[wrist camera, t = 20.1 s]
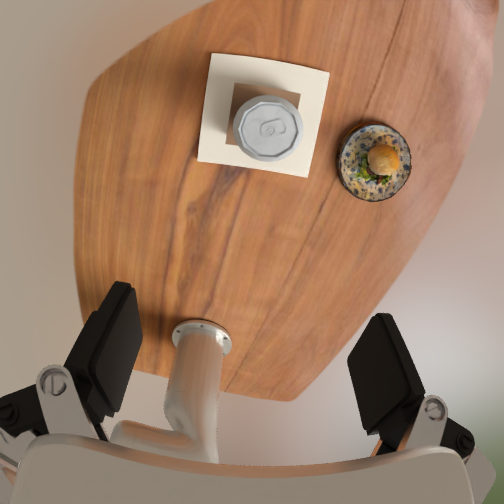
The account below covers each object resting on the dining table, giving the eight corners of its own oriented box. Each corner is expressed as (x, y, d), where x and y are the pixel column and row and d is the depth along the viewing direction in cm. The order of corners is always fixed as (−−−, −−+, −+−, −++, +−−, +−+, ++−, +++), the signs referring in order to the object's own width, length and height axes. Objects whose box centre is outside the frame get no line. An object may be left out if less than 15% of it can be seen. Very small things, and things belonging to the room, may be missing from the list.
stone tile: (306, 175, 37) (307, 177, 36) (198, 159, 36) (197, 161, 35) (327, 73, 29) (329, 73, 28) (213, 54, 28) (211, 53, 27)
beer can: (235, 103, 26) (222, 105, 15) (279, 92, 25) (295, 87, 15) (247, 144, 28) (243, 173, 18) (290, 133, 27) (313, 156, 17)
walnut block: (283, 145, 34) (288, 154, 29) (230, 136, 33) (225, 144, 28) (293, 94, 30) (300, 93, 25) (237, 85, 29) (234, 82, 24)
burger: (332, 197, 39) (347, 218, 32) (336, 118, 33) (354, 123, 26) (401, 198, 38) (424, 219, 32) (410, 126, 32) (438, 135, 26)
